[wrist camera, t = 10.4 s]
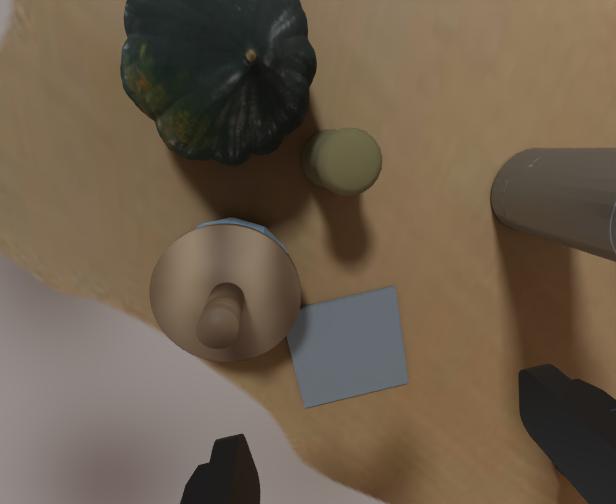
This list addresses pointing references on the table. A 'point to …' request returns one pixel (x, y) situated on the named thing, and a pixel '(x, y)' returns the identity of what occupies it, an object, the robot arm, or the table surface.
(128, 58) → the squash
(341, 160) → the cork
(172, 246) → the lid
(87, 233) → the table surface
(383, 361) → the mat
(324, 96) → the table surface
